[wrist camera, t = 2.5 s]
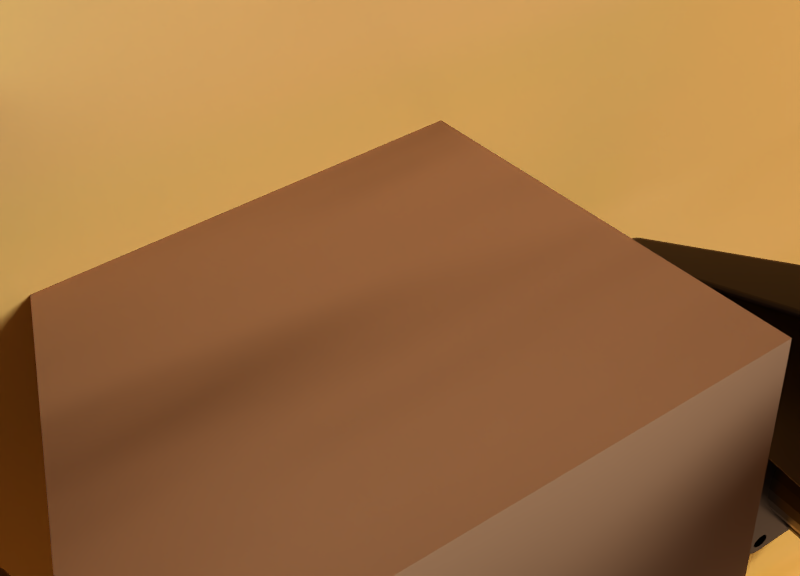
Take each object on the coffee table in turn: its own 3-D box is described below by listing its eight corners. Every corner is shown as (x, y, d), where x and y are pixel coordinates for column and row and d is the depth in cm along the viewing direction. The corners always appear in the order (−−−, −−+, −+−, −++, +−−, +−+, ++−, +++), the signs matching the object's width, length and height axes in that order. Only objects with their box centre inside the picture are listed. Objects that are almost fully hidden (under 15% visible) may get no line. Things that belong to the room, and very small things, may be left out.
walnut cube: (488, 393, 13) (728, 659, 9) (206, 546, 11) (329, 949, 7) (438, 119, 9) (792, 338, 5) (29, 291, 8) (68, 771, 4)
